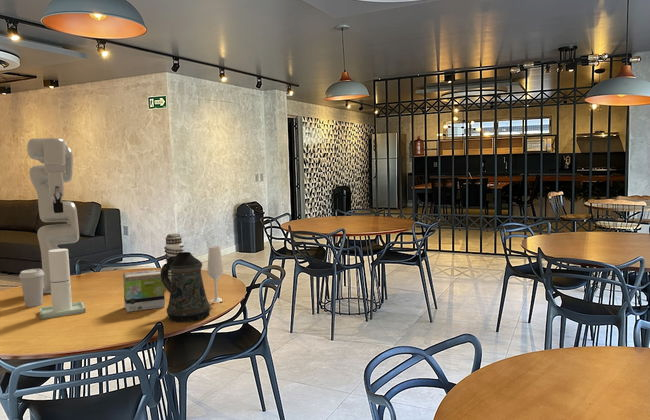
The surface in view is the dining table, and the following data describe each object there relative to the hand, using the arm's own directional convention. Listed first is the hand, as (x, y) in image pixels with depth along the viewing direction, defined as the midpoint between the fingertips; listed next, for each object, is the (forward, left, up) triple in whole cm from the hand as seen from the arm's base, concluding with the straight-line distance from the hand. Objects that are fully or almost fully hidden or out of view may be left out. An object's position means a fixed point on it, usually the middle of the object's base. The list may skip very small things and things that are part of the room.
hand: (58, 211), depth 202 cm
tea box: (+13, +29, -41) cm, 52 cm away
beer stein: (+35, +40, -41) cm, 67 cm away
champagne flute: (+22, +57, -41) cm, 74 cm away
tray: (+1, -1, -41) cm, 41 cm away
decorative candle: (-20, +50, -41) cm, 68 cm away
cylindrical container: (+1, -1, -41) cm, 41 cm away
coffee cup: (-18, -11, -41) cm, 46 cm away
